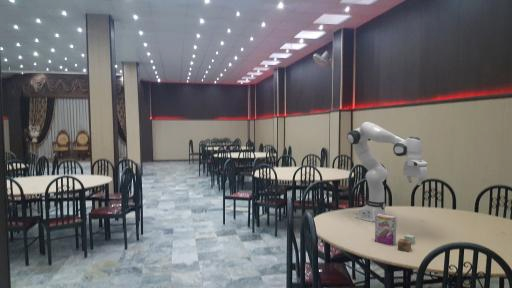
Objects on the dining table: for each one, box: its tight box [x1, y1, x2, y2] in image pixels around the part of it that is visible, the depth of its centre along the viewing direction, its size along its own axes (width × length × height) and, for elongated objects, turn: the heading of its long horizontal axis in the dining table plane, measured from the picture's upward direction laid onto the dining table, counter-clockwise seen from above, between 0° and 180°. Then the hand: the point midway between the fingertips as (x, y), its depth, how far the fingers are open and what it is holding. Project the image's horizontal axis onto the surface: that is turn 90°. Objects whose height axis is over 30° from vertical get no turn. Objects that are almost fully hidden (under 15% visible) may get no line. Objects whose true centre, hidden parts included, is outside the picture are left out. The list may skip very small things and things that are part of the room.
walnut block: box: [397, 238, 412, 253], centre depth 198 cm, size 6×6×5 cm
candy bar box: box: [374, 214, 397, 246], centre depth 209 cm, size 11×5×16 cm, turn 48°
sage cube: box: [403, 233, 416, 246], centre depth 208 cm, size 4×4×4 cm
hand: (414, 184), depth 220 cm, fingers open, 8 cm apart
